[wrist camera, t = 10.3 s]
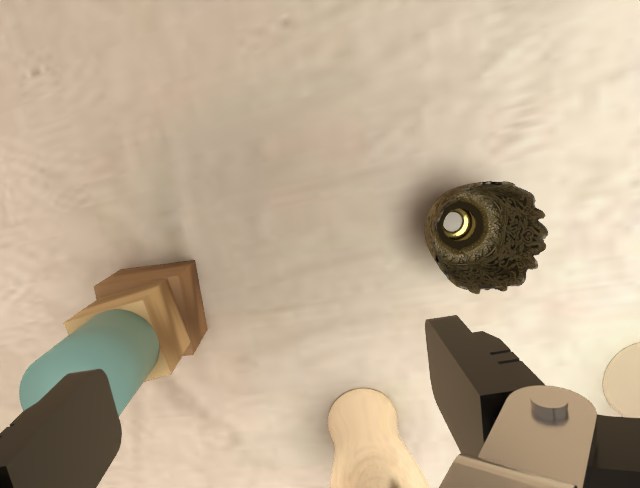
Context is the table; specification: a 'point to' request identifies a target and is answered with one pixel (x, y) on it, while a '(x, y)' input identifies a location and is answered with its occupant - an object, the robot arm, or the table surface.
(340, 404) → the beer glass
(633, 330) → the table surface
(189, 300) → the base block
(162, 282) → the top block
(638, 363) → the cylindrical container
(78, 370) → the cylinder
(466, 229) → the cup
